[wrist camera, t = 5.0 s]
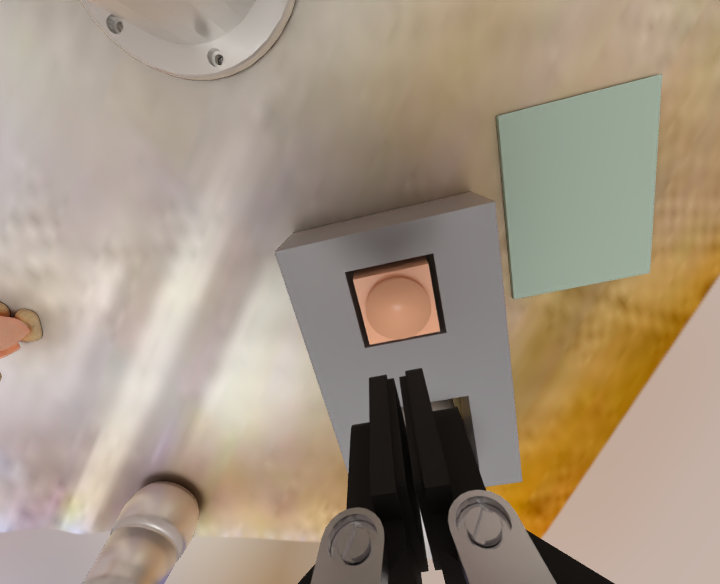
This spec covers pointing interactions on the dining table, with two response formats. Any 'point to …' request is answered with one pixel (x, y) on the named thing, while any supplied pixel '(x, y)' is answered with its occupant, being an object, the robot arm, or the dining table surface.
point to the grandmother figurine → (17, 329)
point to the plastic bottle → (147, 536)
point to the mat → (580, 187)
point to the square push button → (396, 300)
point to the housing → (429, 351)
